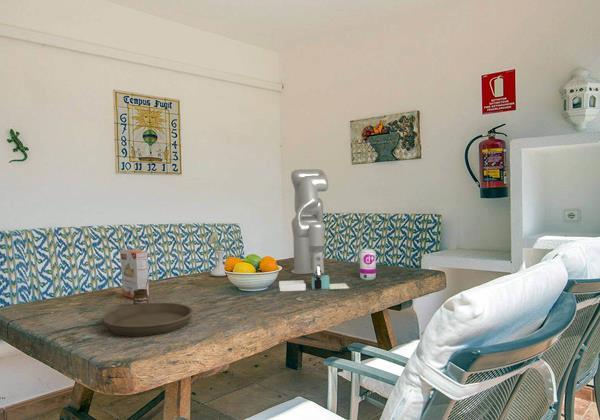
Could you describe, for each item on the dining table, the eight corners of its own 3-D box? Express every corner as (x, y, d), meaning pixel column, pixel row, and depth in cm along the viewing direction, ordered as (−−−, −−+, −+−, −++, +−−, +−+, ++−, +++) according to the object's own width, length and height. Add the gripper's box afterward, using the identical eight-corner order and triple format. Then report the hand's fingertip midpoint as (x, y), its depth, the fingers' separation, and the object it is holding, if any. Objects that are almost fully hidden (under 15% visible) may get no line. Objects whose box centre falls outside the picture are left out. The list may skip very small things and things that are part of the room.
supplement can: (376, 279, 247) (376, 250, 247) (360, 280, 248) (360, 251, 247) (374, 276, 256) (374, 248, 255) (359, 277, 256) (358, 248, 255)
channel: (279, 287, 233) (279, 281, 233) (303, 286, 234) (303, 280, 234) (280, 291, 224) (279, 284, 224) (305, 290, 225) (305, 283, 225)
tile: (327, 285, 236) (327, 283, 236) (345, 284, 237) (345, 283, 237) (329, 289, 227) (329, 287, 227) (348, 288, 228) (348, 287, 228)
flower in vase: (220, 273, 274) (219, 229, 273) (235, 275, 268) (234, 230, 266) (203, 277, 264) (202, 231, 262) (218, 279, 257) (217, 232, 256)
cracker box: (121, 296, 219) (120, 250, 218) (134, 293, 224) (132, 249, 223) (137, 300, 210) (135, 252, 209) (149, 298, 214) (148, 251, 213)
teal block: (311, 287, 232) (311, 275, 232) (327, 286, 233) (327, 275, 233) (312, 289, 227) (312, 277, 227) (329, 288, 228) (329, 277, 228)
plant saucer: (193, 334, 161) (193, 321, 160) (94, 342, 154) (93, 328, 154) (193, 311, 191) (193, 300, 191) (110, 317, 184) (110, 305, 184)
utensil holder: (132, 306, 200) (131, 277, 199) (148, 304, 202) (147, 276, 202) (133, 309, 195) (133, 279, 194) (150, 307, 197) (149, 278, 196)
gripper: (327, 251, 221) (327, 290, 222) (322, 246, 238) (322, 283, 239) (310, 251, 220) (311, 291, 221) (307, 247, 237) (307, 284, 238)
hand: (317, 286), depth 230 cm, fingers closed on teal block, 5 cm apart
